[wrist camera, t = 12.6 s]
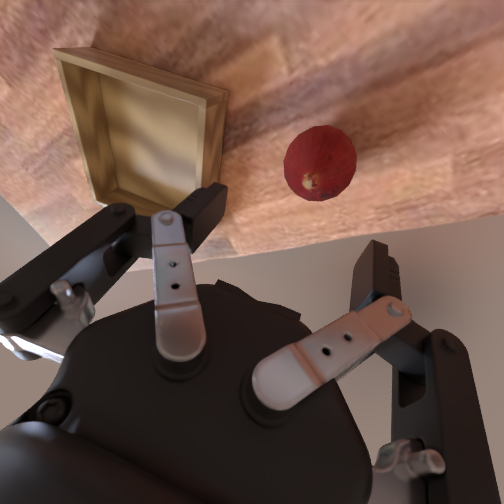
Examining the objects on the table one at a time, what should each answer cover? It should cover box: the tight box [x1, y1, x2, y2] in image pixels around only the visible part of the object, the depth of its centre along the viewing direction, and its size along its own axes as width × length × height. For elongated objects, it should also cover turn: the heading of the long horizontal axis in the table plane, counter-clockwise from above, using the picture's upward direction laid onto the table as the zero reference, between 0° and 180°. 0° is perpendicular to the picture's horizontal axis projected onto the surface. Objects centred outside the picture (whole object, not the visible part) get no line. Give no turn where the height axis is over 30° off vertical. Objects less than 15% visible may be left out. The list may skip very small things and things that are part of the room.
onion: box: [284, 125, 357, 201], centre depth 21 cm, size 6×6×8 cm
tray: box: [52, 47, 229, 216], centre depth 29 cm, size 16×15×4 cm
